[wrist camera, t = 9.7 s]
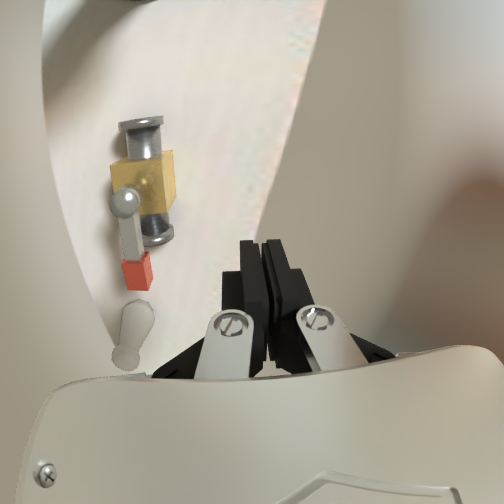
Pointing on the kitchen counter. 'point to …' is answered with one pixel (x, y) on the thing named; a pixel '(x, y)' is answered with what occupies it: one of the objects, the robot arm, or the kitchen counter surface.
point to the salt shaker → (132, 334)
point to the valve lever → (132, 237)
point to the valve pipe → (148, 177)
